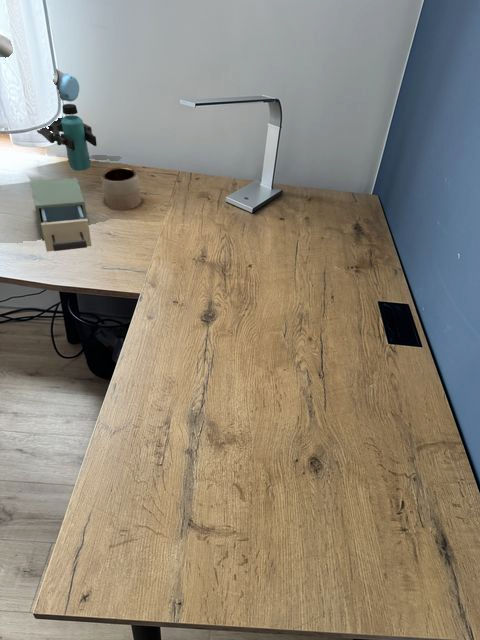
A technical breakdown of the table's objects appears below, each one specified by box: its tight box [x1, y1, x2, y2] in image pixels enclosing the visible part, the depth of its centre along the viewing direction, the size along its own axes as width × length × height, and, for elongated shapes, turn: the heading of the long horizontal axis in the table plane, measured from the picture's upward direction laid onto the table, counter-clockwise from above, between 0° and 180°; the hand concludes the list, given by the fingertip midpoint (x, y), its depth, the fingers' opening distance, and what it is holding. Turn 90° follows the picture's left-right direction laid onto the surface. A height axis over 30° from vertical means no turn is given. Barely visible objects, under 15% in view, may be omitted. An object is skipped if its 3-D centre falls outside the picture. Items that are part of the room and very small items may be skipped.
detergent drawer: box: [41, 205, 92, 253], centre depth 134 cm, size 20×11×9 cm, turn 23°
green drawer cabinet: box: [29, 177, 88, 242], centre depth 142 cm, size 15×13×11 cm
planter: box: [100, 166, 142, 210], centre depth 155 cm, size 11×11×10 cm
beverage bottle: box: [61, 103, 91, 172], centre depth 155 cm, size 6×7×20 cm
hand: (84, 143), depth 152 cm, fingers closed on beverage bottle, 6 cm apart
